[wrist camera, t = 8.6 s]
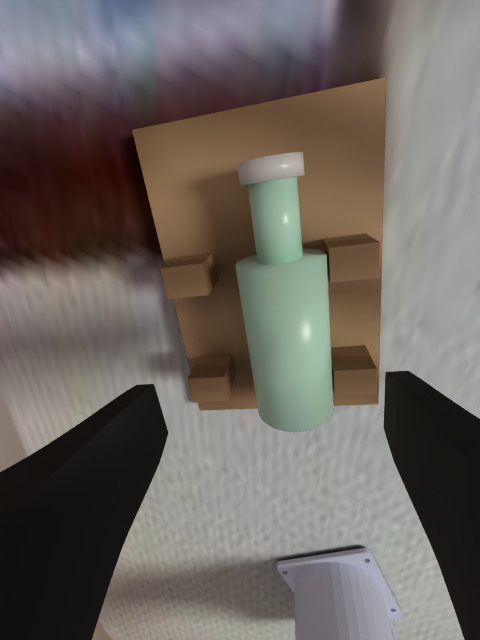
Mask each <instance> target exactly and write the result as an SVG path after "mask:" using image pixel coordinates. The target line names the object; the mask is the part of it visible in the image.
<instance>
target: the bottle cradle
mask: <svg viewBox="0 0 480 640" xmlns="http://www.w3.org/2000/svg"><path fill="white" fill-rule="evenodd" d="M385 115H386V78H381V79H376V80H371V81H366V82H361V83H357V84H352V85H347V86H342V87H337V88H333V89H328V90H323V91H318V92H313V93H309V94H304V95H299V96H294V97H289V98H285V99H280V100H275V101H270V102H265V103H260V104H256V105H251V106H246V107H241V108H236V109H232V110H227V111H222V112H217V113H212V114H208V115H203V116H198V117H193V118H188V119H183V120H179V121H174V122H169V123H164V124H159V125H155V126H150V127H145V128H140V129H135V130H132V132H133V136H134V140H135V144H136V148H137V152H138V156H139V161H140V165H141V169H142V173H143V177H144V181H145V185H146V189H147V194H148V198H149V202H150V206H151V210H152V214H153V218H154V223H155V227H156V231H157V235H158V239H159V243H160V247H161V251H162V256H163V260H164V264H165V266H163V267H162V268H160V270H161V274H162V278H163V282H164V286H165V290H166V294H167V298H168V299H173V301H174V305H175V309H176V313H177V318H178V322H179V326H180V330H181V334H182V338H183V342H184V346H185V351H186V355H187V359H188V363H189V367H190V371H191V373H190V375H189V377H188V382H189V386H190V390H191V394H192V398H193V402H198V404H199V408H200V410H224V409H253V408H258V406H257V399H256V393H255V387H254V380H253V374H252V368H251V361H250V355H249V349H248V342H247V336H246V330H245V324H244V317H243V311H242V305H241V298H240V292H239V286H238V279H237V273H236V267H235V265H236V263H237V262H239V261H240V260H242V259H244V258H247V257H250V256H253V255H257V254H256V247H255V239H254V231H253V224H252V216H251V208H250V201H249V193H248V185H243V186H240V181H239V174H238V167H237V164H238V163H240V162H243V161H247V160H251V159H256V158H261V157H266V156H272V155H278V154H284V153H293V152H303V159H304V174H305V175H303V176H298V177H297V184H298V198H299V211H300V225H301V238H302V248H306V249H318V250H322V251H324V252H326V254H327V273H328V296H329V318H330V340H331V362H332V384H333V406H338V405H367V404H378V398H379V357H380V317H381V276H382V236H383V196H384V155H385Z"/></svg>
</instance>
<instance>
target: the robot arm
mask: <svg viewBox="0 0 480 640" xmlns="http://www.w3.org/2000/svg"><path fill="white" fill-rule="evenodd" d="M384 430H385V434H386V437H387V440H388V444H389V447H390V450H391V453H392V457H393V460H394V462H395V465H396V467H397V469H398V472H399V474H400V476H401V479H402V481H403V483H404V485H405V488H406V490H407V492H408V494H409V497H410V499H411V501H412V503H413V506H414V508H415V510H416V512H417V515H418V517H419V519H420V521H421V523H422V526H423V528H424V530H425V532H426V535H427V537H428V539H429V541H430V544H431V546H432V549H433V551H434V554H435V556H436V558H437V561H438V563H439V566H440V569H441V572H442V575H443V577H444V580H445V583H446V586H447V589H448V592H449V595H450V598H451V600H452V603H453V606H454V609H455V612H456V615H457V618H458V621H459V624H460V627H461V630H462V633H463V636H464V639H465V640H480V419H479V418H477V417H476V416H474V415H473V414H471V413H470V412H468V411H467V410H465V409H464V408H462V407H461V406H459V405H458V404H456V403H455V402H453V401H452V400H450V399H449V398H447V397H446V396H444V395H443V394H441V393H440V392H439V391H437V390H436V389H434V388H433V387H431V386H430V385H429V384H427V383H426V382H424V381H423V380H421V379H420V378H418V377H417V376H415V375H414V374H412V373H411V372H409V371H397V372H386V377H385V407H384ZM167 436H168V430H167V427H166V423H165V420H164V417H163V413H162V410H161V407H160V403H159V400H158V397H157V393H156V390H155V386H154V384H146V385H136V386H134V387H132V388H131V389H129V390H128V391H126V392H124V393H123V394H121V395H120V396H118V397H117V398H116V399H114V400H113V401H111V402H110V403H108V404H107V405H106V406H104V407H103V408H101V409H100V410H98V411H97V412H95V413H94V414H93V415H91V416H90V417H88V418H87V419H85V420H84V421H83V422H81V423H80V424H78V425H77V426H75V427H74V428H72V429H71V430H69V431H68V432H66V433H65V434H63V435H61V436H60V437H58V438H57V439H55V440H54V441H52V442H51V443H49V444H48V445H46V446H45V447H43V448H41V449H40V450H38V451H37V452H35V453H33V454H32V455H30V456H28V457H26V458H25V459H23V460H21V461H20V462H18V463H16V464H14V465H12V466H11V467H9V468H7V469H6V470H4V471H2V472H0V640H92V637H93V633H94V630H95V627H96V624H97V621H98V618H99V615H100V612H101V608H102V605H103V602H104V599H105V596H106V593H107V590H108V587H109V584H110V581H111V578H112V575H113V572H114V569H115V566H116V564H117V561H118V558H119V555H120V552H121V549H122V547H123V544H124V542H125V539H126V537H127V534H128V532H129V530H130V528H131V525H132V523H133V521H134V519H135V517H136V514H137V512H138V510H139V508H140V505H141V503H142V501H143V499H144V497H145V494H146V492H147V490H148V488H149V485H150V483H151V481H152V479H153V476H154V474H155V472H156V469H157V467H158V465H159V462H160V459H161V456H162V453H163V450H164V446H165V443H166V439H167ZM277 570H278V571H279V573H280V574H281V576H282V577H283V579H284V580H285V582H286V583H287V585H288V586H289V588H290V589H291V591H292V592H293V593H294V595H295V636H296V640H396V638H395V634H394V630H393V626H392V622H391V620H399V619H401V618H402V614H401V611H400V609H399V607H398V605H397V603H396V601H395V599H394V597H393V595H392V593H391V591H390V589H389V587H388V585H387V583H386V581H385V580H384V578H383V576H382V574H381V572H380V570H379V568H378V566H377V564H376V562H375V560H374V558H373V556H372V554H371V552H370V551H369V550H368V549H366V548H360V549H353V550H347V551H341V552H334V553H328V554H321V555H315V556H309V557H302V558H296V559H289V560H283V561H279V562H278V563H277Z"/></svg>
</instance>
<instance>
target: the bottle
mask: <svg viewBox="0 0 480 640" xmlns="http://www.w3.org/2000/svg"><path fill="white" fill-rule="evenodd" d="M237 167H238V174H239V181H240V186H243V185H248V193H249V201H250V208H251V216H252V224H253V231H254V239H255V247H256V254H257V255H253V256H250V257H247V258H244V259H242V260H240V261H239V262H237V263H236V265H235V267H236V273H237V279H238V286H239V292H240V298H241V305H242V311H243V317H244V324H245V330H246V336H247V342H248V349H249V355H250V361H251V368H252V374H253V380H254V387H255V393H256V399H257V406H258V412H259V415H260V417H261V418H262V420H263V421H264V422H265V423H267V424H268V425H269V426H271V427H273V428H275V429H278V430H282V431H288V432H302V431H308V430H311V429H314V428H317V427H319V426H321V425H322V424H324V423H325V422H326V421H327V420H328V419H329V418H330V417H331V415H332V413H333V408H334V407H333V384H332V362H331V340H330V318H329V296H328V273H327V254H326V252H324V251H322V250H318V249H306V248H302V238H301V225H300V211H299V198H298V184H297V177H298V176H303V175H305V174H304V159H303V152H293V153H284V154H278V155H272V156H266V157H261V158H256V159H251V160H247V161H243V162H240V163H238V164H237Z"/></svg>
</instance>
